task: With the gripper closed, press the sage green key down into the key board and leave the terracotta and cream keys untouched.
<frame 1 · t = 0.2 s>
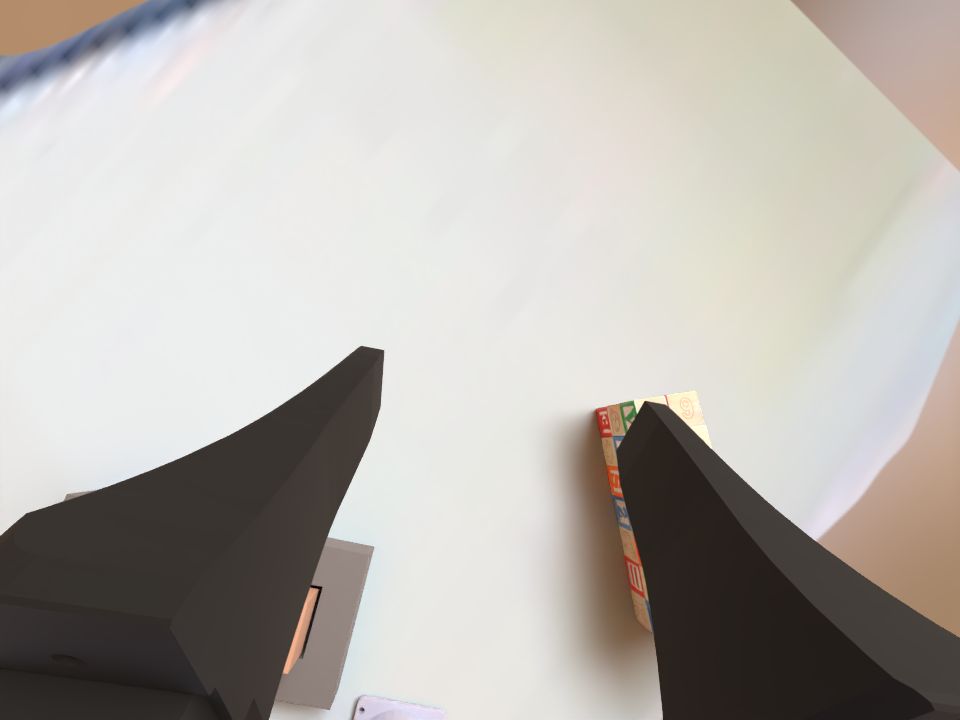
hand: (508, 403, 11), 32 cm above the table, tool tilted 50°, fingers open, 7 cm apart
key board: (214, 588, 37), on the table
stack of blocks: (640, 504, 43), on the table
terracotta key: (273, 623, 33), point 4 cm above the table, slide at 0.0 cm
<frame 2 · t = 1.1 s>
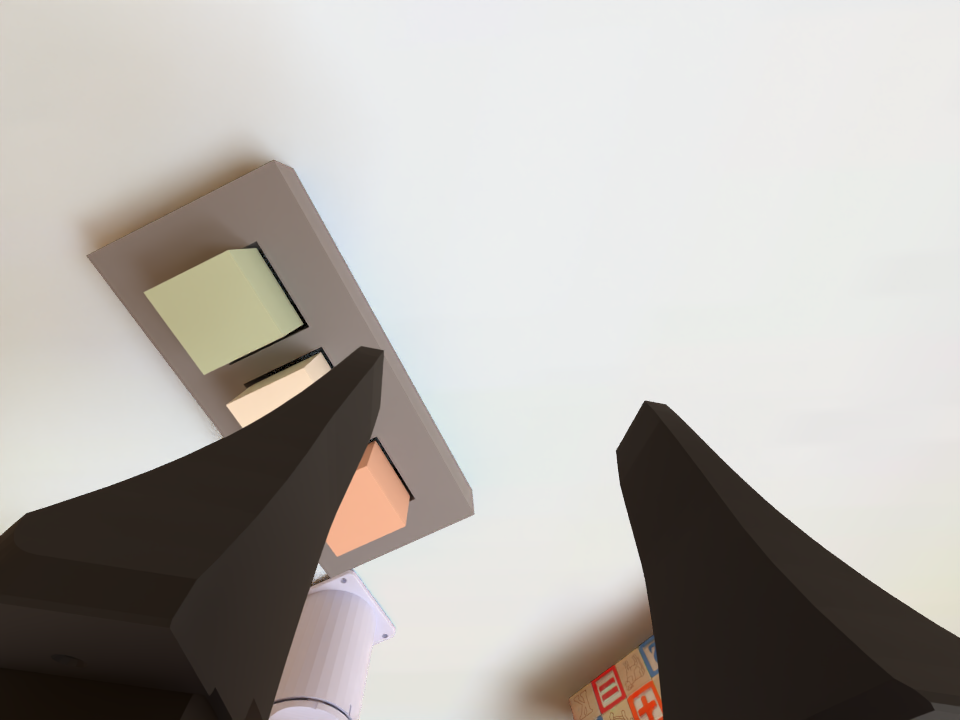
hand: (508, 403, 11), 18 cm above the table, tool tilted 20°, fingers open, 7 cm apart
key board: (320, 386, 29), on the table
stack of blocks: (665, 648, 40), on the table
terracotta key: (356, 497, 27), point 4 cm above the table, slide at 0.0 cm
cream key: (299, 411, 25), point 4 cm above the table, slide at 0.0 cm
green key: (230, 309, 23), point 4 cm above the table, slide at 0.0 cm
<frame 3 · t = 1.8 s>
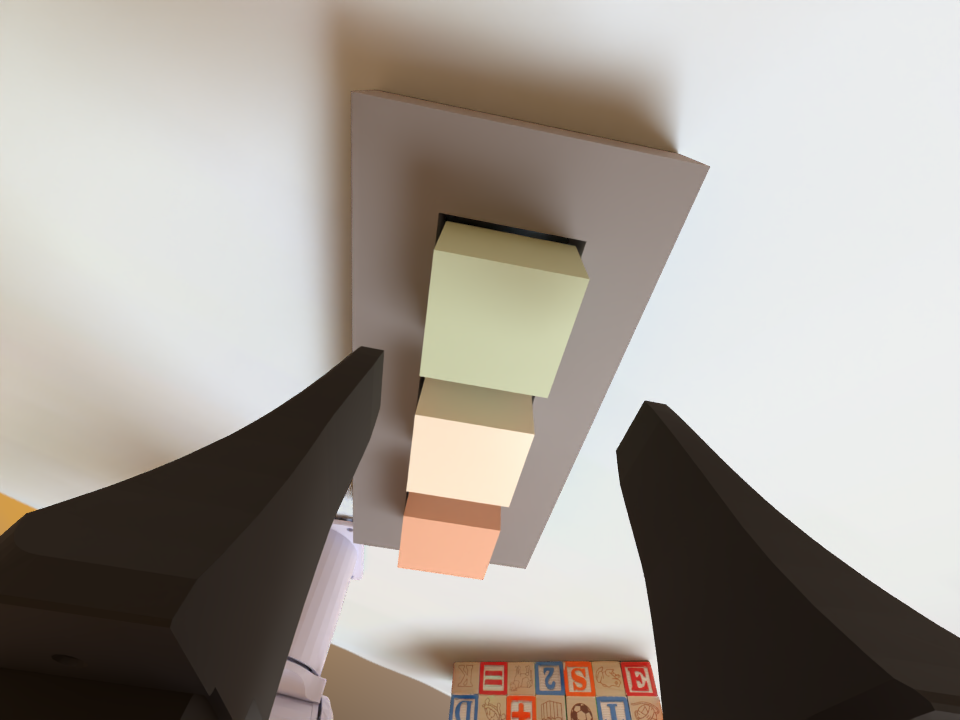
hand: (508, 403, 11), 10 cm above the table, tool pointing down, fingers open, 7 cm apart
key board: (474, 382, 23), on the table
stack of blocks: (550, 668, 46), on the table
terracotta key: (449, 523, 23), point 4 cm above the table, slide at 0.0 cm
cream key: (468, 438, 19), point 4 cm above the table, slide at 0.0 cm
green key: (497, 310, 15), point 4 cm above the table, slide at 0.0 cm
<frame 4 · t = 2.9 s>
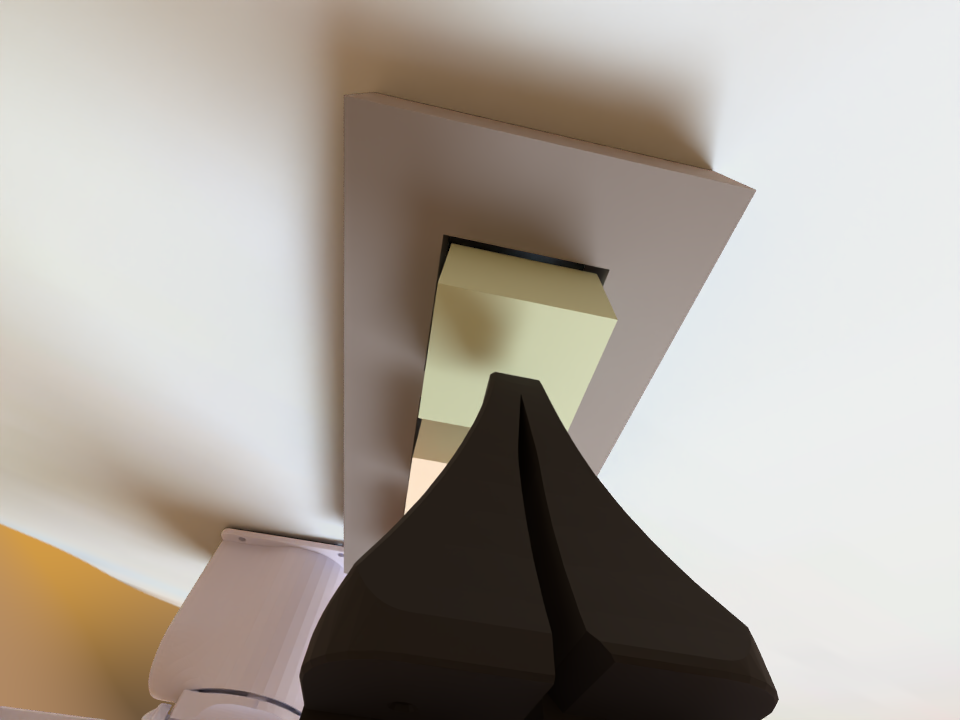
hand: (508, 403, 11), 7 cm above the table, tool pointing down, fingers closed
key board: (477, 409, 21), on the table
cream key: (470, 477, 18), point 4 cm above the table, slide at 0.0 cm
green key: (507, 345, 14), point 4 cm above the table, slide at 0.0 cm
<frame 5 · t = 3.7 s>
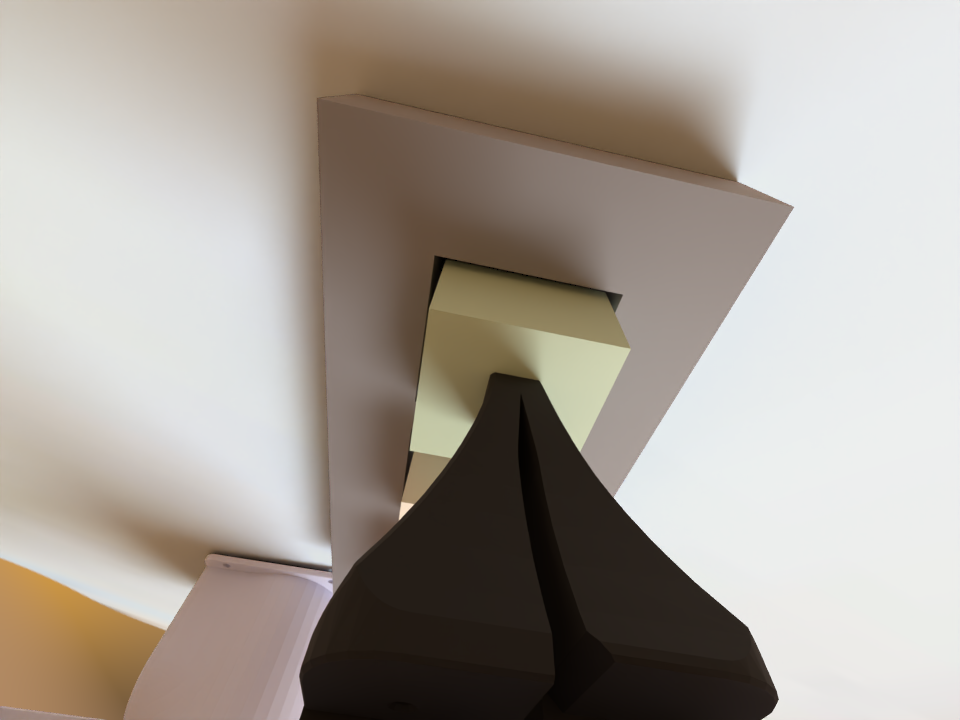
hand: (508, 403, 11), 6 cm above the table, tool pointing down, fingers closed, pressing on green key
key board: (474, 435, 20), on the table
cream key: (467, 515, 16), point 4 cm above the table, slide at 0.0 cm
green key: (507, 371, 12), point 4 cm above the table, slide at -0.4 cm, touching gripper
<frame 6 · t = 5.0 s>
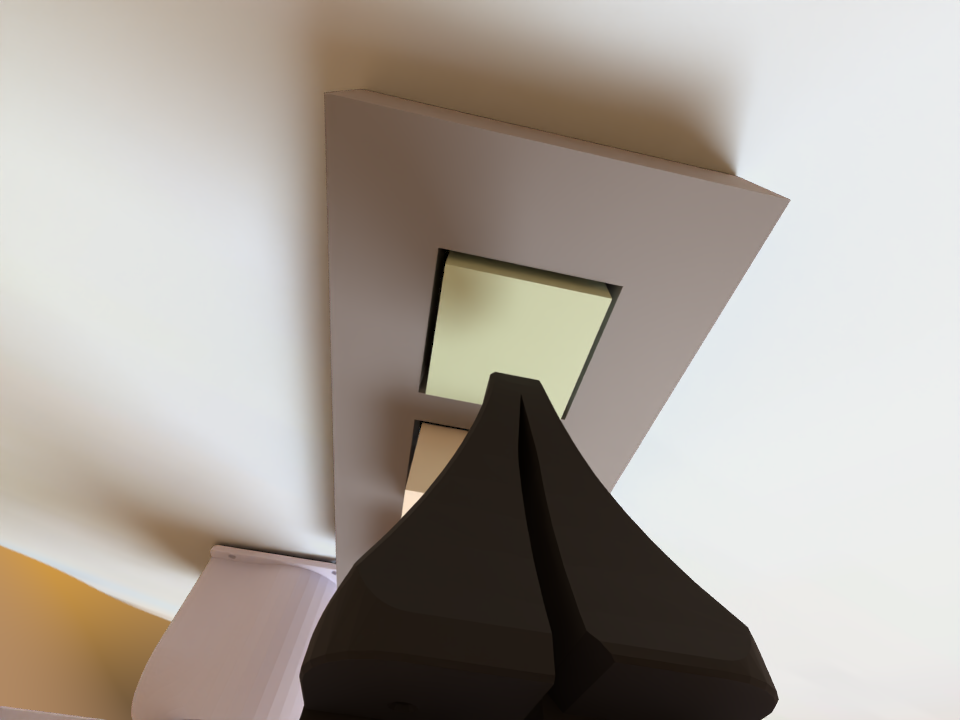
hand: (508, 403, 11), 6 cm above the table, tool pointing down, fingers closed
key board: (476, 428, 20), on the table
cream key: (469, 505, 16), point 4 cm above the table, slide at 0.0 cm
green key: (509, 326, 15), point 2 cm above the table, slide at -2.6 cm
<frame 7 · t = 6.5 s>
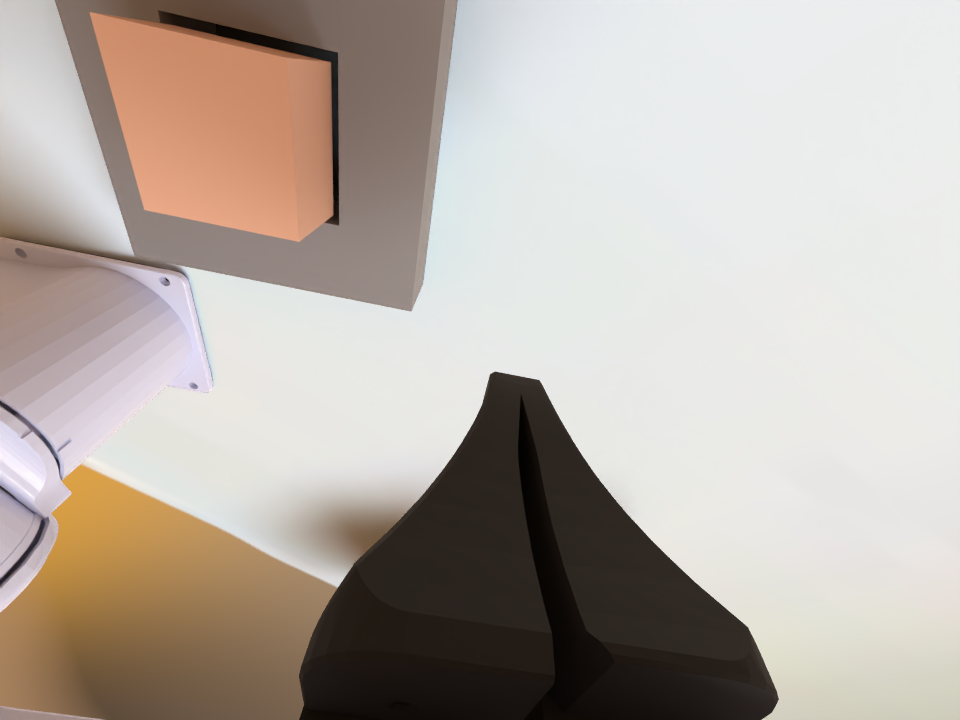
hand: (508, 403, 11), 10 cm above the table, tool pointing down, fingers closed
terracotta key: (237, 135, 13), point 4 cm above the table, slide at 0.0 cm
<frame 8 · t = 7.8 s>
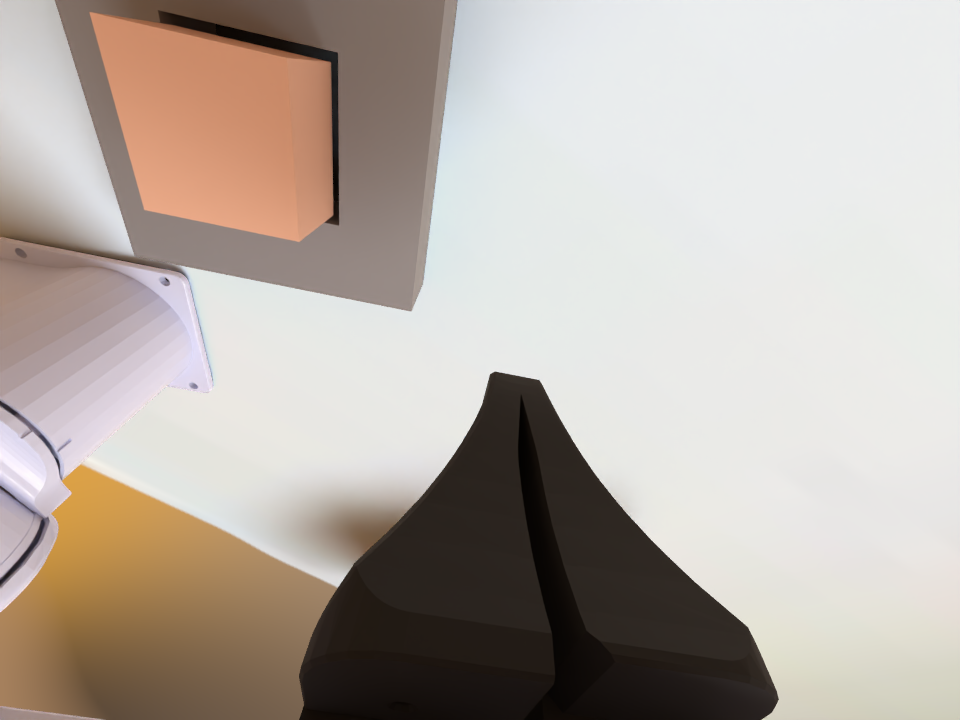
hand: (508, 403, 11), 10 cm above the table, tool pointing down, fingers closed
terracotta key: (237, 135, 13), point 4 cm above the table, slide at 0.0 cm
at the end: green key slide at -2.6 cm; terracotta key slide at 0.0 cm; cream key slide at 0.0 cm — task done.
